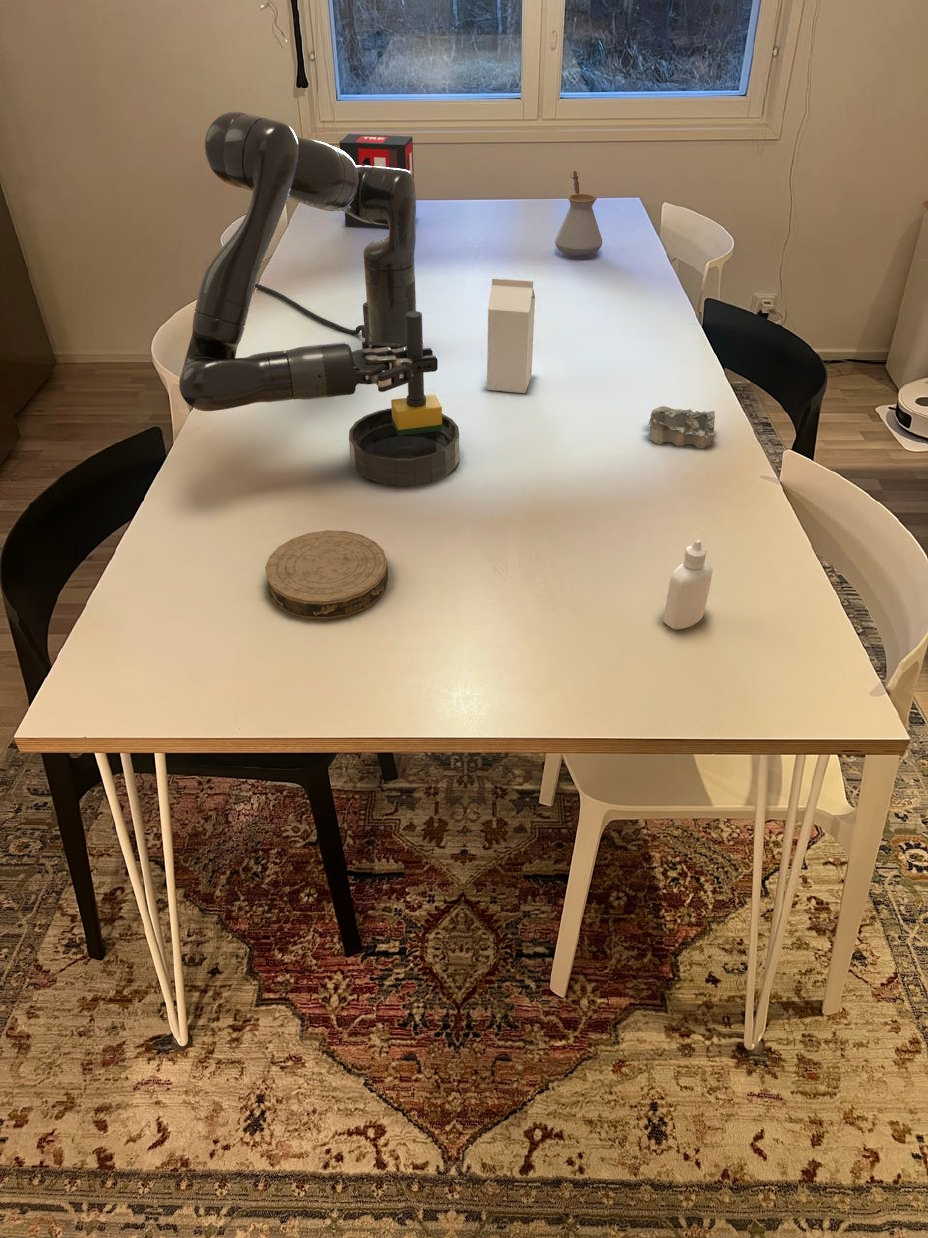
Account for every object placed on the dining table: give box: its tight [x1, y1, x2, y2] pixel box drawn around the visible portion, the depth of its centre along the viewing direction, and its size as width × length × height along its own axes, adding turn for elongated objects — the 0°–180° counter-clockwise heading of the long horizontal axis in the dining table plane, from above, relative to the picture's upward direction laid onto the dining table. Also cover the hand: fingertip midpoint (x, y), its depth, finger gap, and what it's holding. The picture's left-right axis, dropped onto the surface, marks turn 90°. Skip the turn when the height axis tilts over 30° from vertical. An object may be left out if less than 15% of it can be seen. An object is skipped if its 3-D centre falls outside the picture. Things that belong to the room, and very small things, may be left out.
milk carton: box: [486, 277, 536, 394], centre depth 166 cm, size 7×7×19 cm
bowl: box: [348, 407, 460, 487], centre depth 149 cm, size 17×17×5 cm
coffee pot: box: [554, 170, 603, 260], centre depth 227 cm, size 21×12×15 cm, turn 1°
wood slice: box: [264, 530, 389, 621], centre depth 125 cm, size 16×16×3 cm
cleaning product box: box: [338, 133, 415, 230], centre depth 240 cm, size 16×9×20 cm, turn 81°
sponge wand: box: [390, 310, 443, 436], centre depth 142 cm, size 7×4×18 cm, turn 106°
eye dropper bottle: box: [662, 538, 713, 631], centre depth 116 cm, size 4×6×12 cm
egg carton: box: [647, 406, 716, 449], centre depth 155 cm, size 11×8×4 cm
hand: (434, 358), depth 141 cm, fingers closed on sponge wand, 2 cm apart
